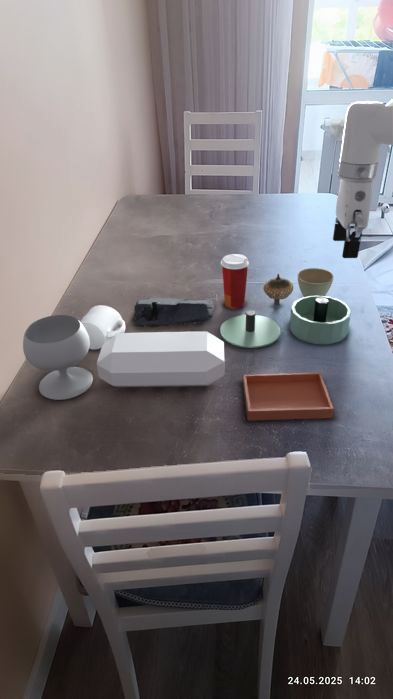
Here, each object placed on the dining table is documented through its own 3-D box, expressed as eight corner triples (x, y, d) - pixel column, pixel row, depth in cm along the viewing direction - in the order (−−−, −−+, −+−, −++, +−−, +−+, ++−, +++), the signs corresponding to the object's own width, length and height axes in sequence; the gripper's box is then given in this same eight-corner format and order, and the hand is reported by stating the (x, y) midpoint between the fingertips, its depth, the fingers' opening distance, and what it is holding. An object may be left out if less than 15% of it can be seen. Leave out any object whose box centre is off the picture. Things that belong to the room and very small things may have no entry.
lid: (275, 317, 132) (277, 297, 129) (284, 349, 119) (286, 328, 116) (218, 319, 132) (218, 299, 129) (221, 351, 119) (221, 330, 116)
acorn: (290, 299, 140) (293, 267, 134) (292, 313, 133) (295, 280, 128) (262, 298, 141) (263, 267, 135) (262, 313, 134) (264, 280, 128)
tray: (319, 381, 108) (320, 372, 107) (332, 418, 98) (333, 408, 97) (242, 383, 108) (243, 374, 107) (247, 420, 98) (248, 411, 97)
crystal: (224, 359, 100) (91, 361, 101) (225, 395, 105) (98, 397, 106) (223, 323, 112) (103, 325, 113) (223, 357, 117) (109, 359, 118)
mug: (75, 347, 123) (69, 320, 119) (91, 328, 131) (86, 302, 126) (119, 352, 120) (114, 325, 116) (132, 333, 128) (128, 306, 123)
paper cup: (251, 300, 140) (253, 255, 132) (242, 312, 135) (243, 266, 127) (226, 295, 143) (226, 251, 135) (216, 307, 138) (215, 262, 130)
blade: (332, 317, 130) (336, 290, 125) (341, 336, 122) (345, 309, 117) (297, 318, 130) (299, 292, 125) (303, 337, 122) (306, 310, 118)
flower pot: (293, 290, 145) (295, 268, 141) (327, 289, 144) (330, 267, 140) (297, 306, 136) (300, 283, 132) (333, 306, 136) (336, 283, 132)
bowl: (339, 314, 132) (342, 294, 129) (354, 343, 120) (357, 322, 117) (286, 315, 132) (287, 296, 129) (295, 345, 120) (297, 324, 117)
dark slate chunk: (212, 329, 128) (212, 313, 125) (131, 328, 130) (129, 313, 127) (215, 301, 141) (215, 287, 138) (140, 301, 142) (139, 287, 140)
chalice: (29, 406, 105) (12, 349, 96) (41, 368, 116) (26, 314, 108) (94, 401, 105) (82, 344, 97) (99, 363, 117) (89, 309, 108)
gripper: (388, 181, 91) (372, 264, 101) (364, 159, 105) (352, 234, 115) (348, 181, 91) (335, 265, 101) (330, 159, 106) (320, 234, 115)
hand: (344, 248), depth 108 cm, fingers open, 9 cm apart
